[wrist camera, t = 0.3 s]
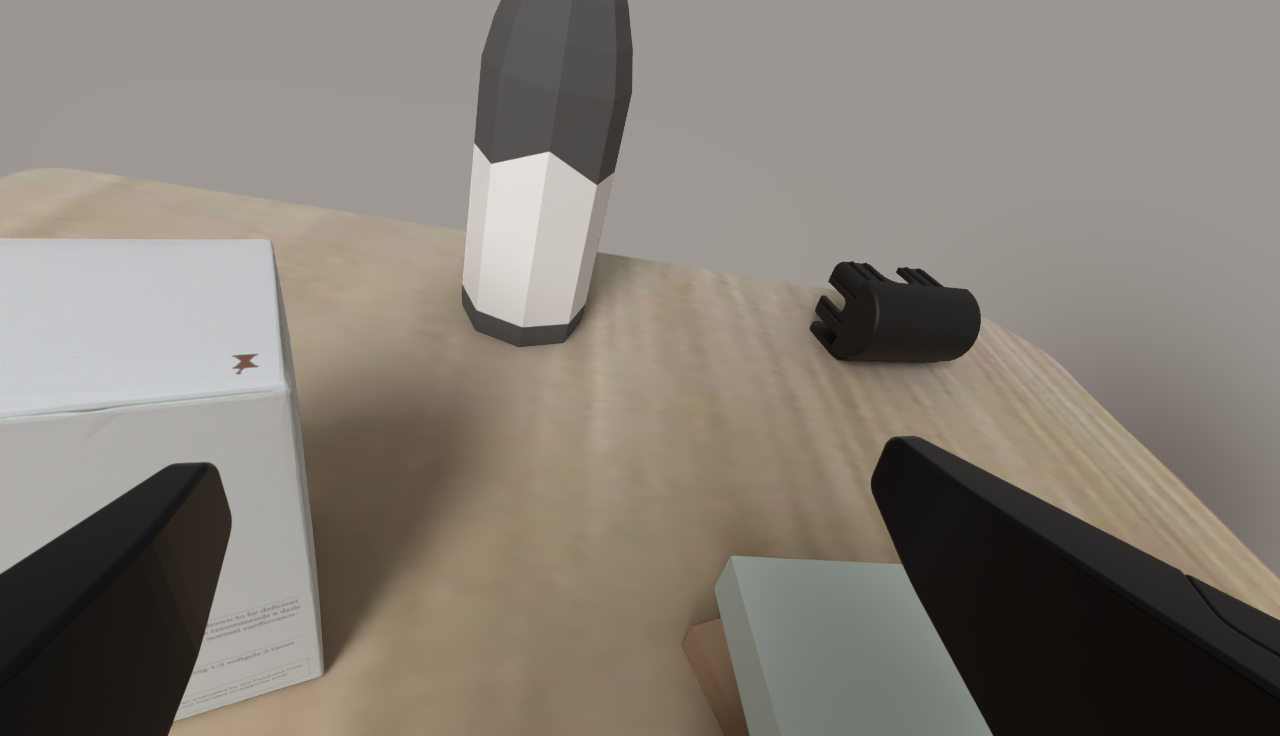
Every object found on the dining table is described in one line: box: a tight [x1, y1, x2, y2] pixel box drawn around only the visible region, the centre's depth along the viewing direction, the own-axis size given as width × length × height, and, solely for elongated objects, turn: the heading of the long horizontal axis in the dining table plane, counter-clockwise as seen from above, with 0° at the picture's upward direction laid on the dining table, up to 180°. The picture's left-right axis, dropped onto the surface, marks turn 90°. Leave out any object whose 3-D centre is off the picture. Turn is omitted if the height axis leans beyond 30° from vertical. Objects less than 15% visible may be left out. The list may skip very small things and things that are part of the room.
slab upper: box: [714, 556, 993, 736], centre depth 22 cm, size 10×10×2 cm
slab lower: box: [682, 618, 750, 736], centre depth 23 cm, size 10×10×2 cm
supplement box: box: [0, 238, 324, 722], centre depth 17 cm, size 7×7×13 cm
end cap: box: [810, 262, 981, 362], centre depth 47 cm, size 10×7×7 cm
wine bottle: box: [462, 0, 633, 347], centre depth 33 cm, size 8×8×30 cm
